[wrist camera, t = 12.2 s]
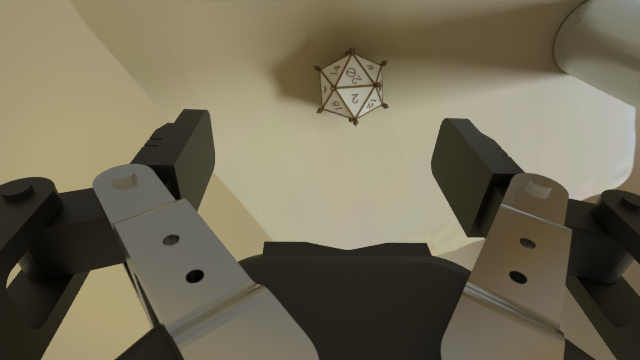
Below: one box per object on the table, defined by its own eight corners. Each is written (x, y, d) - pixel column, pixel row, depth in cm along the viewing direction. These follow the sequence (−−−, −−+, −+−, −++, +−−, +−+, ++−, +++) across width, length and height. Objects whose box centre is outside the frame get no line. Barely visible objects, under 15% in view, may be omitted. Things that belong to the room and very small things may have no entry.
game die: (329, 66, 46) (285, 64, 38) (387, 36, 42) (351, 26, 33) (351, 130, 47) (312, 141, 39) (411, 108, 42) (381, 115, 34)
